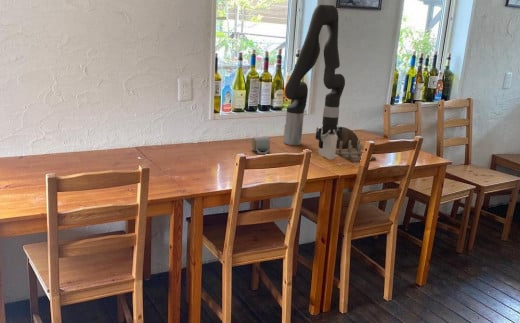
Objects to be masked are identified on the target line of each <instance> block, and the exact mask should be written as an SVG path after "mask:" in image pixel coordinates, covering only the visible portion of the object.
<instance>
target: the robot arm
mask: <svg viewBox="0 0 520 323" xmlns="http://www.w3.org/2000/svg"><path fill="white" fill-rule="evenodd" d="M323 26H326V28H327V36H326V42H325V44H324V47H323V61H324V72H323V84H324V86H325V88H326V89H327V90H331V91H330V92H329V93H327V94H326V95H325V98H324V108H323V112H322V113H323V114H322V115H323V116H322V126H321V127H316V129H315V130H316V131H315V140H318V149H319V148H321V149H322V148H323V140H324V139H325V138H326V137H327V136H328V134H335V135H337V140H338V139H341V136H342V127H343V126H339V116H340V103H341V102H340V101H341V97H342V94H343V92H344V89H345V86H346V78H345V76H344V75H343V74H341V73H335V72H336V69H338V68H340V66H341V63H340V53H339V44H338V43H339V41H338V40H339V11H338V8H337V7H336V6H335V5H333V4H332V5H330V4H318V5H317V6H316V7H315V8H314V10H313V12H312V15H311V18H310V22H309V25H308V28H307V33H306V35H305V39H304V41H303V44H302V46H301V49H300V52H299V54H298V56H297V57H298V58H297V61H296V63H295V66H294V68H293V71H292V73H291V74H290V76H289V79H288V80H287V83H286V86H285V89H284V95H285V98H286V99H288V100H292V101H293V102H291V104H289V105H287V107H286V115H285V124H284V129H283V130H284V132H283V143H284V144H286V145H289V146H300V145H301V144H302V137H303V127H304V126H303V125H304V118H305V117H304V115H305V109H306V107H307V100H308V94H309V87H308V85H307V83H306V82H304V81H302V80H303V78H304V77H305V76H306V75H307V74H308V73H309V72H310V71H311V70H312V69H313V67H314V66H315V65H316V63H317V61H318V58H319V55H320V53H321V45H320V44H321V43H320V33H321V30H322V28H323ZM336 130H337V134H336ZM322 131H323V132H322ZM321 132H322V133H321ZM336 146H337V144H336Z"/></svg>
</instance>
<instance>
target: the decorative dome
mask: <svg viewBox="0 0 520 323" xmlns="http://www.w3.org/2000/svg"><path fill="white" fill-rule="evenodd" d="M341 127H342V136H341V139H338V140H337V146H336V149H337V150H339V147H340V141H343V142H342V149H348V146H349V140H351V141H352V142H351V145H352V148H354V149H357V144H358V140H359V138H358V136H357V135H356V133H355V132H354V131H352V130H351V129H350V128H348V127H344V126H341ZM336 134H337V130H336Z"/></svg>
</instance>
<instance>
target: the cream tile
mask: <svg viewBox="0 0 520 323" xmlns="http://www.w3.org/2000/svg"><path fill="white" fill-rule="evenodd" d="M322 132H323V131H322ZM322 132H321V133H322ZM336 144H337V135H335V134H328V136H327V137H326V138H325V139H324V140H323V148H322V149H321V148H319V147H318V151H317V152H318V153H317V154H318V155H319V156H321V157H324V158H326V159H327V160H335V159H336V154H335V153H336V150H337V148H336Z"/></svg>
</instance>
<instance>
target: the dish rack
mask: <svg viewBox="0 0 520 323" xmlns="http://www.w3.org/2000/svg"><path fill="white" fill-rule="evenodd" d="M342 142H343V141H340V147H339V149H336V153H335V156H338V157H340V158H342V159H345V160H347V161H349V162H351V163H354V164H355V163H361V162H360V160H361V156H362V153H364V151H362V144H361V139H358V144H357V148H352V145H351V142H352V141H351V140H349V146H348V149H342ZM371 156H372V155H371ZM374 161H377V157H375V156H372V158H371V161H370V162H374Z"/></svg>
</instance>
